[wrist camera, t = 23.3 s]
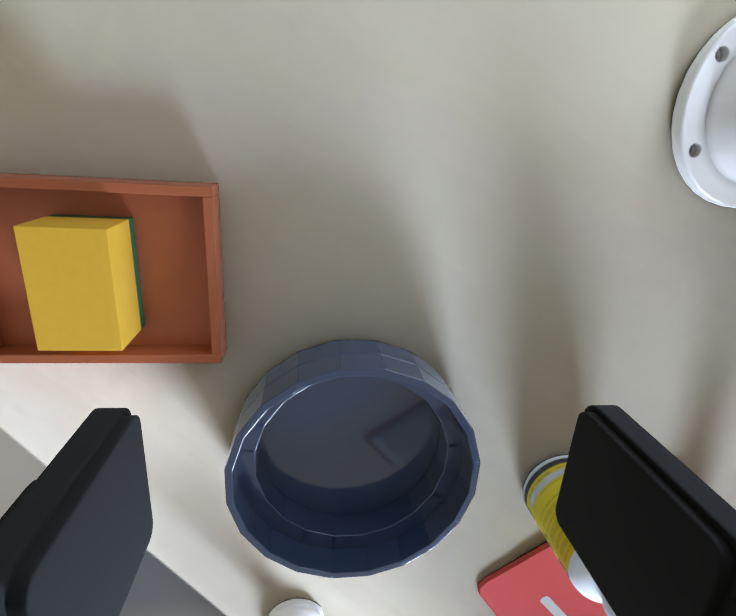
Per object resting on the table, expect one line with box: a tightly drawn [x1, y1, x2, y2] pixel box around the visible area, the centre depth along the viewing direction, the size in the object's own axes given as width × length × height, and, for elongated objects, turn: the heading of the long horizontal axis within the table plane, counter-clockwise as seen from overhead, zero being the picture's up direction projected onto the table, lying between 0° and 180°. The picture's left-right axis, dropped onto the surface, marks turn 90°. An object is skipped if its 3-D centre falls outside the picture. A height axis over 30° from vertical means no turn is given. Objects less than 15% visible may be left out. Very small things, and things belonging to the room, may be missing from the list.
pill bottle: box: [523, 455, 616, 616], centre depth 34 cm, size 6×6×12 cm
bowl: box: [224, 340, 480, 578], centre depth 33 cm, size 17×17×5 cm
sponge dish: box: [0, 173, 226, 363], centre depth 28 cm, size 11×14×2 cm
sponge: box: [13, 214, 145, 351], centre depth 27 cm, size 7×4×4 cm, turn 177°
